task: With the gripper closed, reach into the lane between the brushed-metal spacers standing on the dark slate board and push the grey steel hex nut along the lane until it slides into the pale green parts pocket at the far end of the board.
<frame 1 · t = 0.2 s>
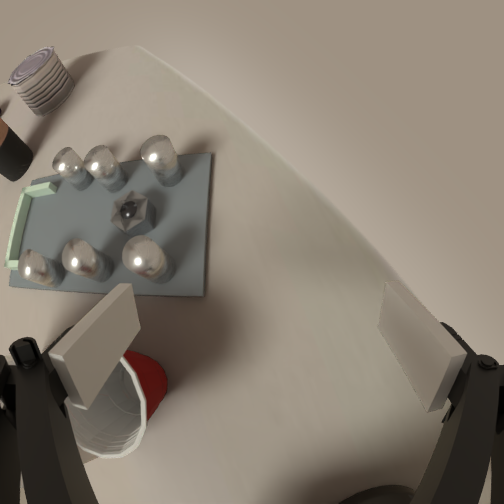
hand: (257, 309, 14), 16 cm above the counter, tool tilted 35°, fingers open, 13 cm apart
nut: (138, 220, 33), point 1 cm above the counter, touching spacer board
parts pocket: (36, 230, 35), resting on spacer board
plastic cup: (144, 381, 29), on the counter, touching milk
travel mug: (21, 165, 40), on the counter
spacers: (111, 224, 34), resting on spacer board
can: (54, 97, 45), on the counter
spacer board: (93, 225, 34), on the counter
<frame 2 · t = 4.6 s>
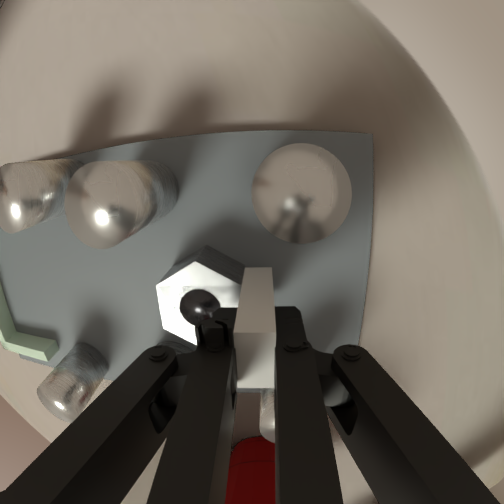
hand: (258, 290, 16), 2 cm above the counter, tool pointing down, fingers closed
milk: (173, 461, 26), on the counter, touching plastic cup
nut: (209, 285, 18), point 1 cm above the counter
parts pocket: (19, 277, 19), resting on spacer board
plastic cup: (261, 450, 24), on the counter, touching milk
spacers: (164, 281, 19), resting on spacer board
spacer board: (125, 280, 19), on the counter
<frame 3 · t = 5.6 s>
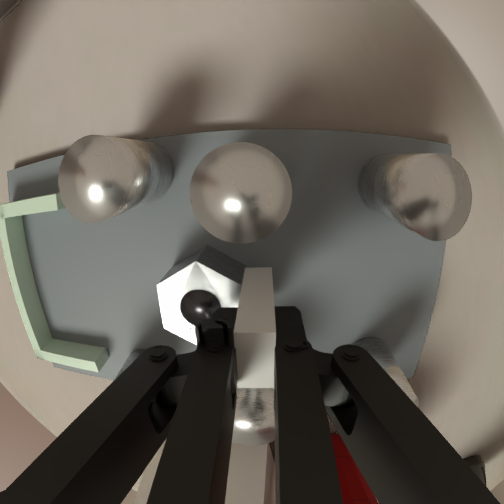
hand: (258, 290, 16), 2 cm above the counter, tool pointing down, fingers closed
milk: (221, 466, 25), on the counter, touching plastic cup
nut: (210, 285, 18), point 1 cm above the counter, touching gripper
parts pocket: (60, 277, 19), resting on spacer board
plastic cup: (316, 447, 24), on the counter, touching milk
spacers: (252, 279, 18), resting on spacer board
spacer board: (205, 279, 18), on the counter
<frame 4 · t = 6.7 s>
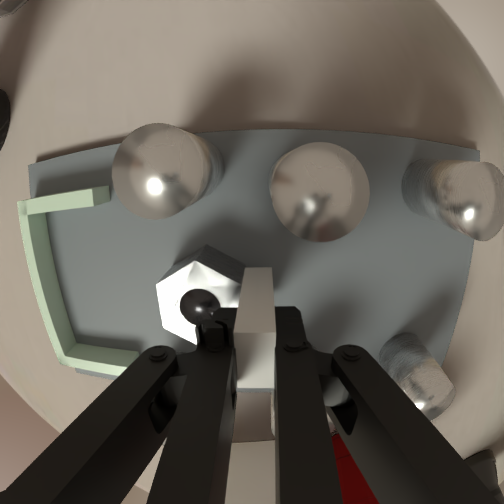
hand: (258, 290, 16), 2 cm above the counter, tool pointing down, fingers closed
milk: (247, 467, 25), on the counter, touching plastic cup
nut: (209, 285, 18), point 1 cm above the counter
parts pocket: (87, 278, 19), resting on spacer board
plastic cup: (344, 444, 24), on the counter, touching milk
spacers: (298, 278, 18), resting on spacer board
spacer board: (250, 279, 18), on the counter
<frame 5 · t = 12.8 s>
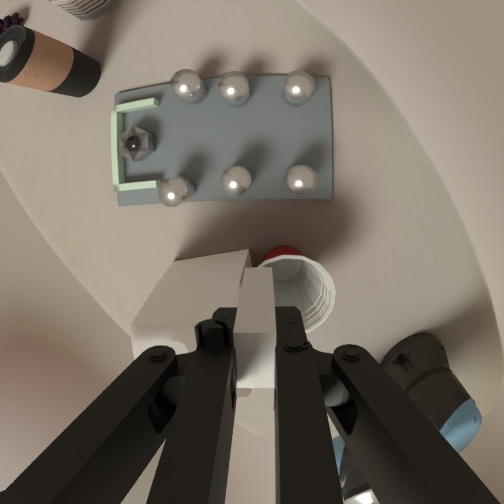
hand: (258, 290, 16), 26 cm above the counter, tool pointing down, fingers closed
milk: (218, 289, 46), on the counter, touching plastic cup
nut: (141, 144, 38), point 1 cm above the counter, touching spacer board
parts pocket: (139, 145, 39), resting on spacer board
fruit: (8, 43, 31), on the counter
plastic cup: (282, 264, 44), on the counter, touching milk
travel mug: (84, 78, 36), on the counter
spacers: (238, 136, 38), resting on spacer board
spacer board: (217, 137, 39), on the counter
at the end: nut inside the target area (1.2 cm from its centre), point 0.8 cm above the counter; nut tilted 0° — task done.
